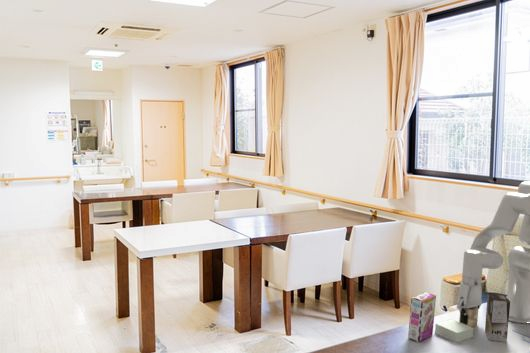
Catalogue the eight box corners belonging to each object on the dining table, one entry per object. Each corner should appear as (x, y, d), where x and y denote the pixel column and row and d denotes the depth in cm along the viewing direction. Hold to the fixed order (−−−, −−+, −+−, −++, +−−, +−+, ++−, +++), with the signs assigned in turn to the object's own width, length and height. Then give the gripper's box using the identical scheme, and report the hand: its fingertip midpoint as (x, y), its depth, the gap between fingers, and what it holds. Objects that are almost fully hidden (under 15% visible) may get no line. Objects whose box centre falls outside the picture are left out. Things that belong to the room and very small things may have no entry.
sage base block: (451, 328, 203) (451, 319, 203) (472, 337, 195) (473, 328, 195) (434, 333, 198) (435, 323, 198) (456, 343, 190) (457, 332, 189)
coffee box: (507, 342, 191) (511, 301, 189) (489, 340, 192) (492, 299, 191) (501, 333, 200) (504, 294, 198) (484, 331, 201) (487, 292, 200)
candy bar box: (419, 343, 187) (422, 301, 186) (407, 338, 191) (410, 297, 189) (433, 335, 195) (436, 294, 194) (421, 331, 199) (424, 291, 197)
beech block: (466, 320, 212) (468, 305, 211) (477, 325, 207) (478, 308, 207) (459, 322, 209) (460, 306, 208) (469, 327, 205) (470, 310, 204)
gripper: (477, 275, 214) (473, 316, 216) (450, 279, 205) (447, 322, 207) (492, 280, 207) (489, 322, 209) (465, 285, 199) (462, 328, 201)
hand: (468, 321), depth 208 cm, fingers closed on beech block, 5 cm apart
